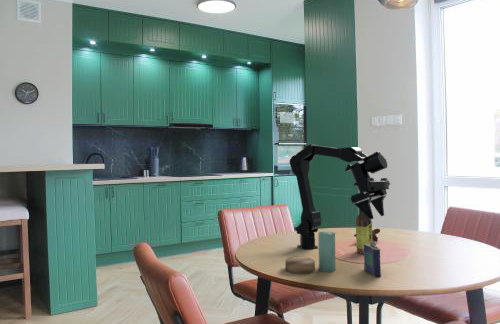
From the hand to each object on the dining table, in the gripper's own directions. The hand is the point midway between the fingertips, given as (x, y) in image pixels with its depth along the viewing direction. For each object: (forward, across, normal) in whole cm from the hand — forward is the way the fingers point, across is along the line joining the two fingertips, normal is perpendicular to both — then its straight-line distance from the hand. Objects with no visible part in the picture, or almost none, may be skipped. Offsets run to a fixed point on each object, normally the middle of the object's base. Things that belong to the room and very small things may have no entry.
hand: (377, 217), depth 148 cm
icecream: (+9, +24, +21) cm, 33 cm away
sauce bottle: (+11, +7, +14) cm, 19 cm away
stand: (+9, -29, +20) cm, 36 cm away
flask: (+17, -17, 0) cm, 24 cm away
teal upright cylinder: (+12, -23, +13) cm, 29 cm away
